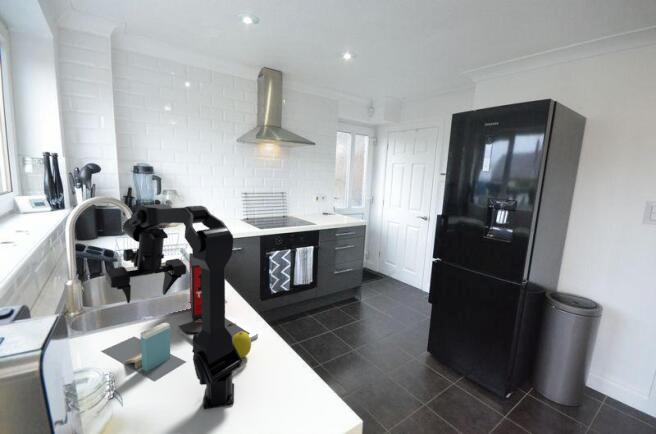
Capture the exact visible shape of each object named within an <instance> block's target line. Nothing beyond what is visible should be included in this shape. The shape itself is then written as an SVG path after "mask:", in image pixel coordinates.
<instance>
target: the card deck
mask: <svg viewBox="0 0 656 434" xmlns="http://www.w3.org/2000/svg"><path fill="white" fill-rule="evenodd" d="M170 330H171V325H170V323H168V322H162V323H160V324H158V325H156V326H153V327H151V328H149V329H147V330H144V331H142V332H140V334H139V335H140V339H141V351H142V369H143V370H145V371H149V370H151V369H152V368H154V367H156V366H158V365H159V364H161V363H163V362H165V361H166V360H168V359H170V354H171V334H170V333H171V331H170Z"/></svg>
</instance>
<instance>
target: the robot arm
mask: <svg viewBox="0 0 656 434" xmlns="http://www.w3.org/2000/svg"><path fill="white" fill-rule="evenodd" d="M179 223H180V224H183V225H184V226H185V229H184V239H185V240H186V241H187V244H188V245H189V247H190V248H191V250H192V253H193V258H194V259H195V261H196V262H197V263H198V265H199V266H200V267H201V292H202V330H201V332H200V333H198V334H195V335H194V336H193V339H192V340H193V343H192V351H191V352H192V353H193V355H192V362H193V367H194V370H195V375H196V378H197V379H198V381H199V385H202V386H206V388H205V391H204V392H205V393H204V398H203V404H202V408H203V409H204V410H205V409H211V408H212V409H213V408H217V407H222V406H224V407H225V406H229V405H233V404H234V403H235V383H234V382H233V371H235V370H237V369H239V368H241V366H242V363H243V360H242V358H241V357H240V356H239V354H238V352H237V350H236V348H235V346H234V344H233V340H232V335H231V334H230V332H229V331H228V330H227V329H226V327H225V314H226V266H227V264H228V263H229V262H230V259H231V258H232V256H233V247H234V235H233V234H232V232H231V231H230V229H229V228H228V227H227V225H226V224H225V222H224V221H223V220H221V219H220V218H218V217H216V216H215V215H214V214H212V213H211V211H209V210H208V208H207V207H206V206H203V205H188V206H184V207H183V206H182V207H172V206H171V205H169V204H165V203H160V204H157V203H156V204H142V205H139V206H138V207H137V210H136V211H135V212H134V213H131V216H130V217H129V218H127V220H125V222H124V223H123V224H122V230H123V232H124V233H125V234H126V235H127V236H128V237H130V238H131V239H132V240H134V241H135V242H137V243H138V248H137V249H136V250H134V249H133V248H128V249H123V254H122V255H123V256H122V257H123V259H122V260H123V261H125V262H130V263H133V267H134V268H136V269H132V270H127V269H126V267H125V266H119V267H113V268H108V269H107V271H106V272H105V280H106V281H107V283H108V286H110V288H112V289H113V288H114V289H115V288H116V290H121V291H122V293H123V295H124V298H125V301H126V303H127V304H130V302H131V296H132V295H131V294H132V293H131V289H132V285H131V284H130V283H131V279H133V278H139V277H146V276H152V275H155V274H161V273H164V278H163V283H162V294H163V296H165V295H166V294H167V293H168V292H169V290H170V289H171V287H172V286H173V285H174V283H175V282H176V281H178V279H179V278H182V276H183V275H186V274H187V270H188V268H187V265H186V264H185V263H184V262H183V260H181V259H180V258H179V257H178V258H173V259H167V260H165V263H164V264H163V265H162V261H163V259H164V258H165V255H164V253H163V252H164V251H163V250H164V239H168V238H169V236H168V234H167V232H166V231H164V228H159V227H160V226H168V225H170V224H179ZM200 223H202V225H203V226H204V227H206V229H200V230H196V229H195V228H194V226H193V224H200Z"/></svg>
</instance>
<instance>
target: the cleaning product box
mask: <svg viewBox="0 0 656 434" xmlns="http://www.w3.org/2000/svg"><path fill="white" fill-rule="evenodd" d="M188 256H189V261H188V262H189V304H190V309H191V310H192V311H191V316H192V321H199V320H202V292H201V267H200V266H199V265H198V263H197V262H196V261H195V259H194V258H193V252H192V253H189V254H188Z"/></svg>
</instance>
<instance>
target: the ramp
mask: <svg viewBox="0 0 656 434" xmlns="http://www.w3.org/2000/svg"><path fill="white" fill-rule="evenodd" d="M133 362H135V368H136V369H138V368H140V367H142V353H141V354H139V355H137V356H135V357H133V358H131V359H129V360H127V361H126V363H127V364H128V363H133Z"/></svg>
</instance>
